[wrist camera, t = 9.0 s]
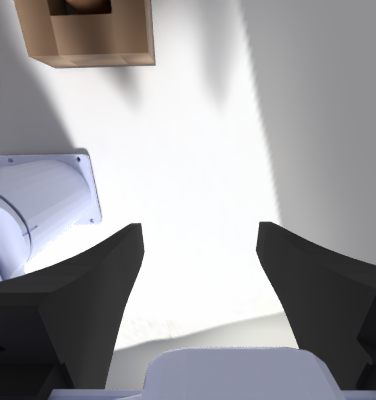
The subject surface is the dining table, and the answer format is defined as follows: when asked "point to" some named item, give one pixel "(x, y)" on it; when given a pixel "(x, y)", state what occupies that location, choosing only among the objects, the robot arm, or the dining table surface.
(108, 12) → the pin
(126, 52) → the hole block
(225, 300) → the dining table surface
